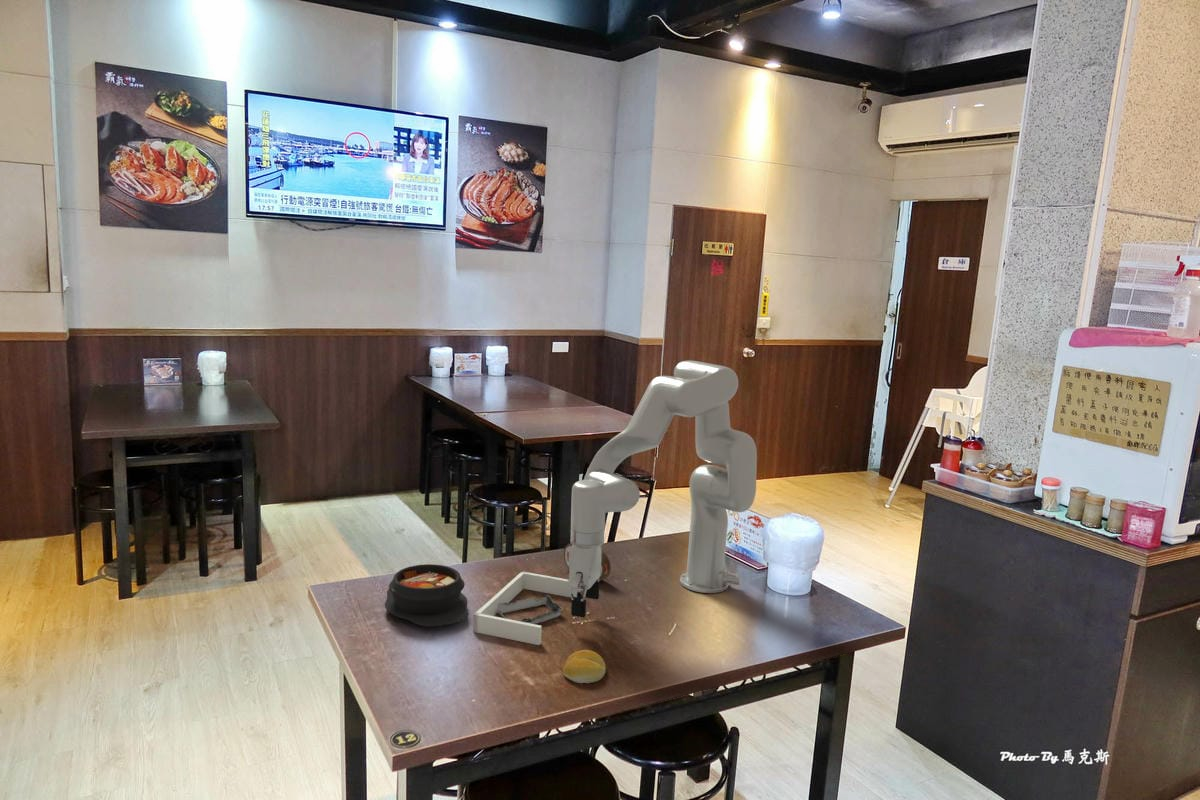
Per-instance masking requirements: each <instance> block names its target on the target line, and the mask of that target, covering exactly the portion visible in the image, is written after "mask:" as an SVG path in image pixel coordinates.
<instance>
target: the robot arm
mask: <svg viewBox="0 0 1200 800" xmlns="http://www.w3.org/2000/svg"><path fill="white" fill-rule="evenodd" d="M738 388H739V378H738V375H737V373H736V372H735V370H733V369H732V368H730V367H729V366H728V367H727V366H724V365H720V364H714V363H709V362H703V361H698V360H688V359H687V360H683V361H680V362H678V363H677V364H676V366H675V367H674V369H673V376H672V375H660V376H659V375H658V376H655V377H654V378H653V379H652V380H651V381H650V382H649V384H648V385H647V388H646V389H645V391H644V394H643V396H642V397H641V400H640V401H639V403H638V405H637V407H636V409H635V411H634V413H633V415H632V417H631V418H630V420H629V422H628V424H627V426H626V427H625V429H624V430H622V431H621V432H620V433H618V434H617V435H615V436H613V437H612V438H611V439H610V440H609V441H608V442H606V443H605V444H604V445H602V447H601V448H600V449H599V450H598V451H597V452H596V454H595V455H594V457H593V458H592V461H591V462H590V464H589V466H588V468H587V471H586V473H585V475H584V478H583V479H582V480H578V481H576V482H575V483H573V485H572V487H571V504H570V505H571V509H570V512H571V513H570V543H572V544H573V545H572V550H571V556H570V567H569V568H568V569H569V571H568V580H569V581H568V585H569V587H571V591H572V594H571V595H572V597H570V598H571V609H570V610H571V612H570V613H571V614H570V615H571V616H572V617H578V618H583V619H584V618H585V617H586V616H587V615H586V614H587V600H586V599H585V598H587V599H590V600H591V599H592V600H599V598H600V581H599V580H600V577H599V576H600V572H601V550H602V546H603V545H604V544H605V528H606V527H605V526H606V524H605V522H606V520H605V519H606V514H607V513H621V512H627V511H629V510H631V509H632V508H634V507H635V506H636V505H637V504H638V503H639V499H640V497H641V496H640V495H641V492H640V488H639V486H638V485H637V484H636V482H634V481H632V480H631V479H628V478H626V477H624V476H620V475H617V474H616V473H614V472H615V470H616V469H617V467H618V466H619V465H620V464H621V463H622V462H623V461H624V460H626V458H629V457H631V456H632V455H635V454H638V453H642V452H645V451H648V450H652V449H655V448H657V447H659V445H660V444H661V441H662V440H663V438H664V436H665V435H666V432H667V430H668V428H669V426H670V424H671V422H672V420H673V418H674V416H675V415H677V416H681V417H685V418H693V417H695V419H694V420H695V424H694V425H695V429H694V430H695V431H694V432H695V435H694V437H695V451H696V455H697V456H698V458H699V459H701V460H702V461H705V462H707V463H709V464H703V465H700V466H698V467H696V468H695V469H694V470H693V471H692V473H691V475H690V478H689V494H690V504H691V505H690V508H691V509H690V510H691V511H690V513H691V514H690V523H689V524H690V525H689V527H690V528H689V535H688V536H689V538H688V551H687V552H688V553H687V562H686V563H687V564H686V572H684V573H682V574H681V575H680V577H679V583H680V584H681V586H683V587H684V588H686V589H688V590H689V591H690V590H691V591H693V592H698V593H701V594H702V593H703V594H704V593H705V594H717V592H718V593H722V592H724V590H725V591H726V590H727V589H728V588H729V585H730V584H733V585H736V586H737V585H738V586H740V584H741V577H738V574H736V573H729V572H728V571H727V567H726V566H725V559H726V548H727V546H726V545H727V539H728V538H727V536H728V535H727V533H728V527H729V520H728V519H729V518H728V512H727V510H728V511H731V512H734V513H745V512H747V511H748V510H749V509H751V507H752V506H753V504H754V503H755V502H754V500H755V498H756V492H757V467H758V466H757V465H758V463H757V462H758V456H757V455H758V454H757V446H756V442H755V440H754V438H752V436H751V435H750V434H748V433H746V432H744V431H740V430H737V429H733V428H732V427H731V420H730V406H729V401H731V399H732V398H734V396H735V395H736V393H737V391H738ZM723 467H724V468H723ZM582 585H583V586H582ZM579 590H580V592H579ZM581 591H582V593H581Z"/></svg>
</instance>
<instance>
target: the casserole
mask: <svg viewBox="0 0 1200 800" xmlns="http://www.w3.org/2000/svg"><path fill="white" fill-rule="evenodd" d="M465 585H466V584H465V581H464V579H463V578H462V576H461V574H460V572H459V571H458V570H456V569H455V568H453V567H452V566H451V567H450V566H446V565H441V564H426V563H425V564H416V565H412V566H408V567H405V568H402V569H400V570H399V571H397V572H396V573H395V574H394V575H393V578H392V579H391V581H390V582H389V583H388V589H387V591H386V600H385V603H384V608H385V609H386V611H387V612H388V613H390V614H391V615H393V616H395V617H397V618H400V619H403V620H407V621H410V622H412V623H413V624H415V625H418V626H420V627H426V628H427V627H429V628H430V627H442V626H449V625H451V624H454V623H458V622H461V621H462V620H465V619H466V618H468V617H469V615H470V613H469V610H468V602H469V601H468V598H467V597H466V596H465V595H464V594H463V593H462V591H463V589H464V588H465Z"/></svg>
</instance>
